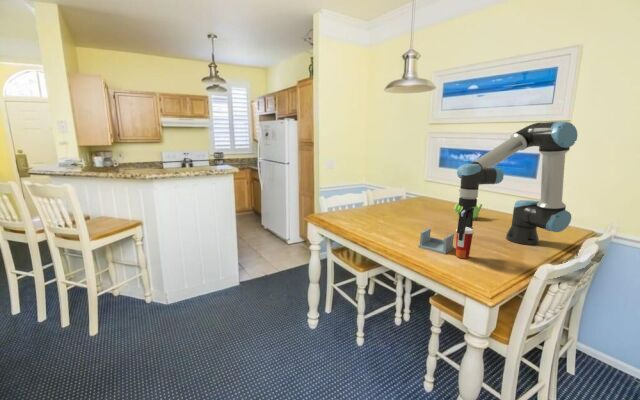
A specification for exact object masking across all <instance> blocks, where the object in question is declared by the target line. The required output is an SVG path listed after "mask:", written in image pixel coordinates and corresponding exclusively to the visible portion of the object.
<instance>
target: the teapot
mask: <svg viewBox="0 0 640 400" xmlns="http://www.w3.org/2000/svg"><path fill="white" fill-rule="evenodd" d="M482 207H483V204H482V203H479V204H478V205H476V207H472V208H474V211H473V221H475V220H476V218H478V217H479V215H480V211H481V210H482ZM462 208H463V207H462V206H460V205H459V203H455V205H454V208H453V211H454V212H456V215H457V216H458V217H459V212H461V210H462Z"/></svg>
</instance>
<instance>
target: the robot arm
mask: <svg viewBox="0 0 640 400" xmlns="http://www.w3.org/2000/svg"><path fill="white" fill-rule="evenodd" d="M577 140H578V129H577V128H576V126H575V124H573V123H572V122H568V121H551V122H550V121H549V122H536V123H532V124H529V125H527V126H525V127H523V128H521V129H519V130H518V131H516V132H514V133H512V135H510V137H509V139H507V140H505V141H504V142H502V143H501V144H499V145H497V146H496V147H494V148H493V149H490V151H488V152H486V153H485V154H483V155H482V156H480V157H478V158H477V159H475V160H474V161H472V162H471V163H465V164H461V165H459V166H458V168H457V170H456V174H457V177H458V179H459V178H460V189H459V190H458V191H459V198H458V204H459V205H460V206H462V207H463V208H462V210H461V212H459V216H458V221H457V227H456V229H457V231H456V230H455V232H456V234H457V233H458V242H457V246H459V247H464V239H465V234H464V232H465V228H466V227H469V228H471V229H473V230H474V227H473V225H474V224H473V223H474V220H473V211H474V208H472V207H476V205H477V203H478V199H477V198H478V197H479V186H480V185H497V184H500V183H501V182H503V180H504V175H505V173H504V171H503V170H502V169H501V168H499V167H495V166H497V165H499V164H500V163H502V162H503V161H504V160H506V159H508V158H509V157H510V156H513V155H514V154H515V153H518V152H519V151H524V150H526V149H528V148H530V147H538V152H539V153H540V154H542V159H541V160H542V162H541V163H542V164H541V183H540V186H541V187H540V201H539V200H528V199H527V200H526V199H525V200H524V199H522V200H516V201H515V203H514V206H513V212H512V218H511V226H510V227H509V229H508V231H507V233H506V236H505V239H506V240H508V241H509V242H511V243H514V244H520V245H527V246H534V245H535V246H536V245H538V244H539V236H538V235H539V234H538V231H537V230H538V229H537V228H539V229H541V230H542V229H543V230H546V231H548V232H554V233H560V232H563V231H564V230H566V229H567V228H568V227H569V225H570V224H571V221H572V214H571V212H570V211H568V210H566V207H567V206H566V204H565V203H564V202H563V191H564V177H565V176H564V175H565V163H566V153H568V152H569V151H570V148H571V147H572V146H574V145H575V143H576V141H577ZM477 206H478V205H477ZM460 230H461V231H460Z"/></svg>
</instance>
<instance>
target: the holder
mask: <svg viewBox="0 0 640 400" xmlns="http://www.w3.org/2000/svg"><path fill="white" fill-rule="evenodd" d="M431 230H432V228H429V227H428V228H426V229H425V230H423V231H421V232H420V237H419V244H418V246H417V248H421V249H422V250H423V249H424V250H426V251H427V250H428V251H430V252H431V251H432V252H435V253H438V254H443V255H446V254H448V253H449V252H450V251H452V250H454V247H455V246H454V237H455V236H454V235H455V233H451V232H450V234H448V235H446V236H445V237H443V238H444V239H442V238H441V239H440V238H436V237H432V236H431V232H432V231H431Z"/></svg>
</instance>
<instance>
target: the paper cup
mask: <svg viewBox="0 0 640 400" xmlns="http://www.w3.org/2000/svg"><path fill="white" fill-rule="evenodd" d="M456 231H457V228H456V230H455V232H456ZM460 231H461V230H460ZM464 234H465V239H464V247H459V246H457V242H458V233H456V235H455V236H456V241H455V256H456V257H457V258H458V259H459V258H460V259H468V258H469V256H470V253H471V246H472V241H473V235H474V228H473V229H471V228H469V227H466V228H465V232H464Z"/></svg>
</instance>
